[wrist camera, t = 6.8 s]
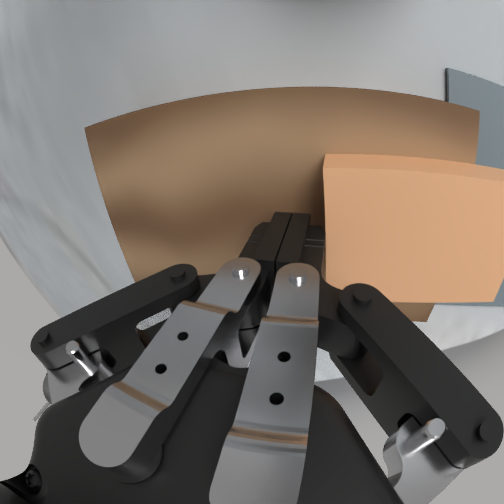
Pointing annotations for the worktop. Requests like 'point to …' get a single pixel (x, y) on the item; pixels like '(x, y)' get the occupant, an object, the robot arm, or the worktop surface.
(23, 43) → the worktop surface
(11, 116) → the worktop surface
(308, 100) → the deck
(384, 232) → the orange tan rectangular block
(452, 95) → the mat
